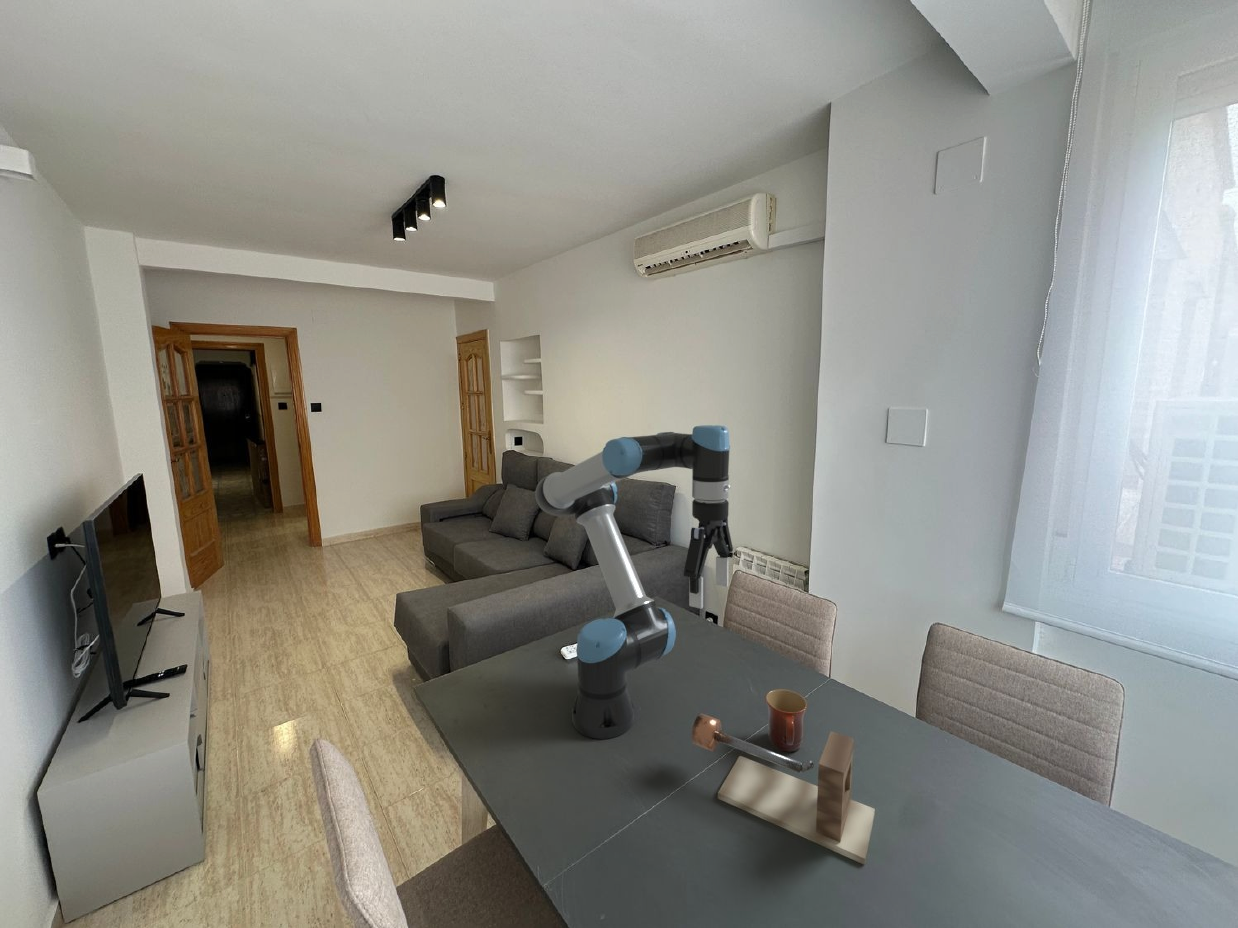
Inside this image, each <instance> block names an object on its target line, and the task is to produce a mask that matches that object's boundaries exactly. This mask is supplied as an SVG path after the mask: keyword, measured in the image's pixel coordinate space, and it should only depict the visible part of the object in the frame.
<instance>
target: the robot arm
mask: <svg viewBox="0 0 1238 928" xmlns="http://www.w3.org/2000/svg"><path fill="white" fill-rule="evenodd" d="M729 433H730V432H729V429H728V427H726V426H725V425H719V424H718V425H710V424H709V425H708V424H707V425H696V426H694V427H693V428H692V433H689V434H688V433H681V432H674V431H664V432H658V433H656V434H651V435H641V436H639V435H638V436H629V437H628V436H622V437H621V436H620V437H619V438H613V439H610V440H609V441H607V442H606V443H605V446H604V447H603V449H602V451H600V452H598V453H597V454H595V455H592V456H591V457H589V458H587V459H586V460H583V461H581V462H580V463H577V464H576V465H573V466H572V467H570V468H568V469H566V470H565V471H555V472H552V473H550V474H548V475H547V476H545V477H543V478H542V479H540V481H539V482H538V483H537V485H536V488H535V491H534V492H535V493H534V494H535V500H536V503H537V505H538V506H539V508H540V509H541V510H542V511H543V512H545V514H548V515H550V516H557V517H562V516H563V517H564V516H565V517H566V516H569V515H570V516H571V515H573V516H574V518H575V521H576V523H577V524H579V525H581V526H583V527H584V529H585V531H586V535H587V536H588V539H589V542H590V545H591V547H592V550H593V553H594V555H595V558H596V560H597V563H598V565H599V567H600V571H601V573H602V575H603V578H604V582H605V584H606V586H607V589H608V592H609V594H610V596H611V599H612V601H613V605H614V608H615V612H614V615H613V617H606V618H598V619H595V620H593V621H590V622H588V623H587V624H585V625H584V626H583V627H582V628H581V629H580V630H579V632H578V634H577V640H576V642H577V643H576V649H575V652H576V656H577V658H576V659H577V661H576V662H577V682H578V683H577V684H578V691H577V693H576V696H575V699H574V704H573V706H572V709H571V721H572V725H573V727H574V729H575V730H576V731H577V732H578V733H579V734H581V735H583V736H585V737H588V738H592V739H598V740H600V739H601V740H602V739H603V740H605V739H611V738H616V737H619V736H620V735H623V734H625V733H626V732H628V731H629V730H630V729H631V727H632V726H633V724H634V722H635V707H634V704H633V702H632V699H631V697H630V694H629V693H630V692H629V690H628V688H627V675H628V673H629V672H631V671H633V670H635V669H638V668H639V667H642V666H645V665H646V664H649V663H651V662H653V661H657V660H659V659H661V658H663V656H665V655H667V654H669V653H670V652H671V651H672V649H673V648H674V646H675V641H676V637H677V632H676V625H675V622H674V619H673V618H672V616H671V614H670V613H669V612H668V611H667V610H666V609H665V608H664V607H659V606H657V604H656V601H655V600H654V599H653V598H651V597H648V596H647V595H646V592H645V590H644V588H643V585H642V582H641V580H640V577H639V575H638V572H637V570H636V568H635V564H634V563H633V560H632V557H631V555H630V553H629V550H628V548H627V546H626V544H625V540H624V538H623V536H622V534H621V531H620V529H619V526H618V524H617V522H616V519H615V516H614V513H615V511H616V509H617V508H616V505H615V504H616V502H617V499H618V494H617V493H618V488H617V484H616V482H620V481H621V480H623V479H626V478H629V477H631V476H633V475H636V474H639V473H645V472H649V471H652V472H653V471H657V470H664V469H665V470H666V469H670V468H682V469H690V470H691V472H692V474H691V475H692V480H691V481H692V482H691V484H692V485H691V488H692V489H691V490H692V491H691V496H692V498H693V500H692V503H691V504H692V505H691V507H692V509H691V511H692V517H693V518H694V519H695V520H697V521H698V526H697V527H691V529H690V540H689V545H688V550H687V554H686V560H685V565H684V570H683V576H684V577H687V578H689V581H688V582H689V584H688V585H689V586H688V587H689V590H688V591H689V592H688V594H689V595H688V596H689V599H688V603H689V607H692V608H697V609H701V610H702V609H703V608H704V577H703V576H702V573H703V570H704V567H705V563H706V560H707V557H708V553H709V550H710V549H712V548H713V547H714V549H715V551H716V553H717V555H718V556H716V557H715V585H716V586H721V587H726V588H728V587H729V564H730V563H729V558H730V559H731V558H734V553H733V551H734V547H733V543H732V537H731V532H730V528H729V518H728V517H729V509H730V508H729V501H728V500H727V499H728V498H729V490H731V485H729V481H730V480H729V477H730V475H729V465H730V449H731V445H730V434H729Z"/></svg>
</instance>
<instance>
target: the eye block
mask: <svg viewBox="0 0 1238 928" xmlns="http://www.w3.org/2000/svg"><path fill="white" fill-rule="evenodd" d="M854 741H855V739H854V737H850V736H847V735H844V734H840V733H837V732H835V731H832V730H831V731H830V733H829V736H828V737H827V741H826V743H825V746H824V749H823V751H822V754H821V756H820V760H819V761H818V773H817V774H818V775H817V776H818V777H817V786H818V794H817V818H816V832H817V833H819V834H822V835H824V836H826V837H828V838H831V839H833V840H835V841H837V842H841V838H842V834H843V830H844V826H845V823H846V819H847V815H848V811H849V807H850V803H851V800H852V783H853V782H852V779H853V765H854V764H853V762H854V761H853V760H854V743H855V742H854Z"/></svg>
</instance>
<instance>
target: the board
mask: <svg viewBox="0 0 1238 928" xmlns="http://www.w3.org/2000/svg"><path fill="white" fill-rule="evenodd" d="M817 794H818V785H815V784H812V783H810V782H808V781H806V780H803V779H800V778H797V777H795V776H792V775H790V774H787V773H785V772H782V771H779V770H777V769H775V768H772V767H770V766H768V765H765V764H762V763H759V762H757V761H754V760H752V759H750V758H747V757H744V756H742V755H739V756H738V758H737V760H736V762H735V763H734V764H733V766H732V768H731V770H730V771H729V773H728V775H727V777H726V779H725V780H724V782H723V783H722V785H721V787H720V789H718V792H717V799H718V800H720V801H723V802H725V803H728V804H729V805H731V806H734V807H736V808H737V809H740V810H743V811H745V812H747V813H749V814H751V815H753V816H756V817H758V818H760V819H762V820H765V821H767V822H769V823H771V824H774V825H776V826H777V827H780V828H782V829H784V830H787V831H788V832H791V833H792V834H795V835H798V836H800V837H802V838H804V839H807V840H808V841H811V842H813V843H815V844H818V845H819V846H822V847H824V848H826V849H829V851H833V852H835V853H836V854H837V853H838V854H840V855H842V856H843V857H846V858H848V859H850V860H853V861H855V862H857V863H859V864H861V865H864V866H865V864H866V859H867V854H868V849H869V843H870V839H871V835H872V829H873V824H874V819H875V810H876V809H875V808H873V807H871V806H868V805H867V804H863V803H861V802H858V801H856V800H853V799H851V803H850V807H849V811H848V815H847V819H846V823H845V826H844V830H843V834H842V838H841V842H837V841H835V840H833V839H831V838H828V837H826V836H824V835H822V834H819V833H817V832H816V818H817Z"/></svg>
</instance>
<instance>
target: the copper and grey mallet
mask: <svg viewBox="0 0 1238 928" xmlns="http://www.w3.org/2000/svg"><path fill="white" fill-rule="evenodd" d="M691 742H692V744H693V745H695V746H698V747H701V748H702V749H705V750H708V751H711V752H715V750H716V749H717V747H718V745H719V743H721V744H724V745H727V746H729V747H731V748H734V749H737V750H740V751H742V752H745V753H747V754H749V755H751V756H755V757H757V758H760V759H762V760H765V761H767V762H771V763H772V764H776V765H778V766H781V767H783V768H785V769H788V770H791V771H794V772H796V773H798V774H801V773H805V772H808V771H810V770H811V769H813V768H814V765H815V764H814V762H813V760H811V759H807V760H806V761H803V762H801V761H798V760H797V759H793V758H791V757H789V756H788V757H787V756H786V755H785V756H784V755H782V754H780V753H777V752H774V751H772V750H769V749H766V748H763V747H761V746H759V745H756V744H753V743H751V742H747V741H745V740H743V739H739V738H738V737H734V736H732V735H729V734H727V733H724V732H722V722H721V719H718V718H715V717H713V716H709V715H707V714H704V713H699V714H697V716H696V718H695V720H694V722H693V725H692V730H691Z"/></svg>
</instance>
